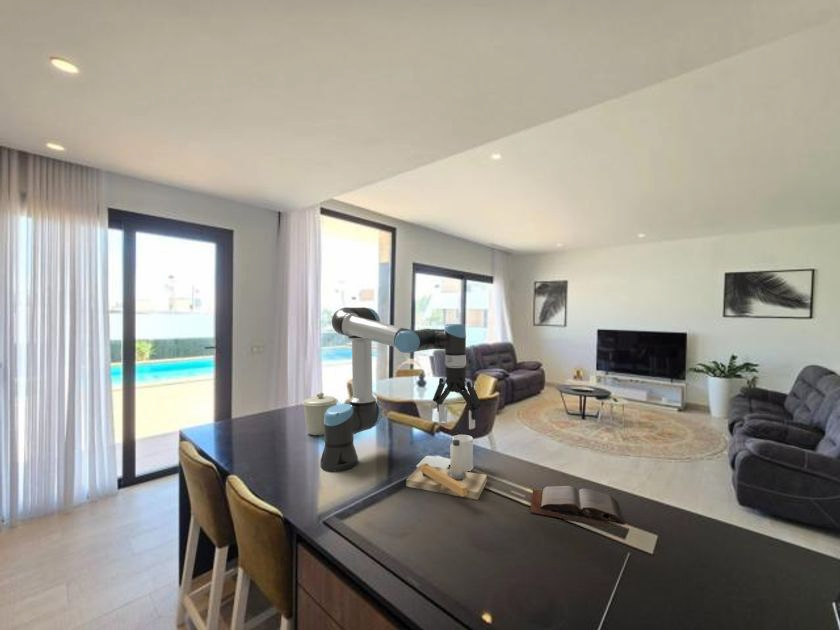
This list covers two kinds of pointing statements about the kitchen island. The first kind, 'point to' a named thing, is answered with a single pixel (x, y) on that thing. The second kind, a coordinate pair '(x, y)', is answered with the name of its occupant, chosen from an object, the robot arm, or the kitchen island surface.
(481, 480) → the socket board
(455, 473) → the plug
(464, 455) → the mug
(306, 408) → the canister
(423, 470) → the wooden bar
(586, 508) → the book
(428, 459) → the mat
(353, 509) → the kitchen island surface
